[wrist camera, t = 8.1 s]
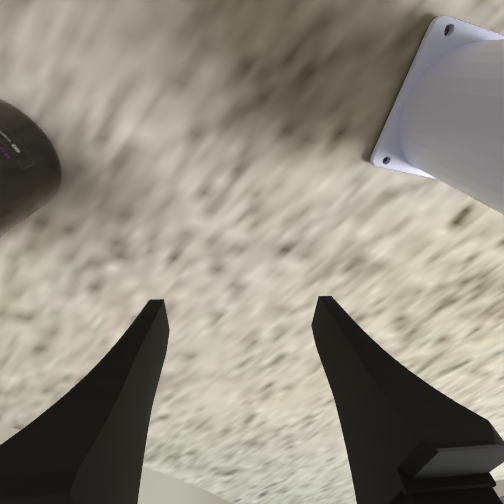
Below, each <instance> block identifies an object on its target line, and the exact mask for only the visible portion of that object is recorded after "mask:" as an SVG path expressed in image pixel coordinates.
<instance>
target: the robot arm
mask: <svg viewBox="0 0 504 504" xmlns="http://www.w3.org/2000/svg"><path fill="white" fill-rule="evenodd" d="M447 25H448V26H449V32H448V34H447V35H446V36H445V35H444V30H445V28H446V26H447ZM385 157H388V159H387V161H386V162H384V163H383V159H384V158H385ZM370 161H371V163H372V164H373V165H375V166H377V167H382V168H386V169H391V170H396V171H400V172H405V173H410V174H414V175H419V176H423V177H428V178H433V179H437V180H440V181H442V182H444V183H446V184H447V185H449V186H451V187H453V188H455V189H457V190H459V191H461V192H462V193H464V194H466V195H468V196H470V197H472V198H474V199H476V200H477V201H479V202H481V203H483V204H485V205H487V206H489V207H491V208H492V209H494V210H496V211H498V212H500V213H502V214H504V35H501V34H498V33H495V32H493V31H490V30H487V29H484V28H481V27H478V26H475V25H472V24H470V23H467V22H464V21H461V20H458V19H455V18H452V17H449V16H447V15H442V16H438V17H436V18H435V19H434V20H433V21H432V22H431V23H430V25H429V27H428V29H427V32H426V34H425V36H424V38H423V41H422V43H421V45H420V47H419V49H418V52H417V54H416V56H415V58H414V61H413V63H412V65H411V67H410V70H409V72H408V74H407V76H406V79H405V81H404V83H403V85H402V88H401V90H400V92H399V94H398V97H397V99H396V101H395V103H394V106H393V108H392V110H391V112H390V115H389V117H388V119H387V121H386V124H385V126H384V128H383V130H382V133H381V135H380V137H379V139H378V142H377V144H376V146H375V148H374V151H373V153H372V155H371V158H370ZM312 330H313V335H314V340H315V344H316V347H317V350H318V353H319V356H320V359H321V362H322V365H323V368H324V370H325V373H326V376H327V379H328V382H329V384H330V387H331V390H332V393H333V396H334V400H335V403H336V407H337V411H338V415H339V419H340V423H341V428H342V432H343V436H344V441H345V445H346V450H347V454H348V459H349V464H350V469H351V474H352V479H353V484H354V490H355V495H356V501H357V504H504V496H503V497H500V498H499V497H498V495H497V494H496V492H495V491H494V489H493V487H495V486H496V482H495V481H494V479H493V478H492V476H491V474H490V473H489V472H490V471H491V470H493V469H494V468H496V467H497V466H499V465H500V464H501V463H503V462H504V441H503V439H502V438H501V437H500V435H499V434H498V433H497V431H496V430H495V429H494V427H493V426H492V425H491V423H490V422H489V421H488V420H486V419H485V418H483V417H481V416H479V415H478V414H476V413H474V412H472V411H471V410H469V409H467V408H465V407H464V406H462V405H460V404H458V403H457V402H455V401H453V400H452V399H450V398H449V397H447V396H446V395H444V394H442V393H441V392H439V391H438V390H436V389H435V388H433V387H432V386H430V385H429V384H427V383H426V382H424V381H423V380H422V379H420V378H419V377H418V376H416V375H415V374H413V373H412V372H411V371H409V370H408V369H407V368H405V367H404V366H403V365H401V364H400V363H399V362H398V361H397V360H395V359H394V358H393V357H392V356H390V355H389V354H388V353H387V352H386V351H385V350H383V349H382V348H381V347H380V346H379V345H378V344H377V343H376V342H375V341H374V340H373V339H371V338H370V337H369V336H368V335H367V334H366V333H365V332H364V331H363V330H362V329H361V328H360V327H359V326H358V324H357V323H356V322H355V321H354V320H353V319H352V318H351V317H350V316H349V315H348V314H347V313H346V312H345V311H344V309H343V308H342V307H341V306H340V305H339V304H338V303H337V302H336V301H335V300H334V299H333V297H332V296H319V297H318V301H317V305H316V309H315V313H314V317H313V321H312ZM168 337H169V324H168V319H167V314H166V308H165V303H164V299H162V300H149V301H148V302H147V304H146V305H145V307H144V308H143V309H142V311H141V312H140V314H139V315H138V316H137V318H136V319H135V320H134V322H133V323H132V324H131V326H130V327H129V328H128V329H127V331H126V332H125V333H124V334H123V336H122V337H121V338H120V339H119V341H118V342H117V343H116V344H115V345H114V346H113V347H112V349H111V350H110V351H109V352H108V353H107V354H106V355H105V357H104V358H103V359H102V360H101V361H100V362H99V363H98V364H97V365H96V366H95V367H94V368H93V369H92V370H91V371H90V372H89V373H88V374H87V375H86V376H85V377H84V378H83V379H82V380H81V381H80V382H79V383H78V384H76V385H75V386H74V387H73V388H72V389H71V390H70V391H69V392H68V393H67V394H65V395H64V396H63V397H62V398H61V399H60V400H58V401H57V402H56V403H55V404H54V405H52V406H51V407H50V408H49V409H47V410H46V411H45V412H44V413H42V414H41V415H40V416H39V417H38V418H36V419H35V420H34V421H33V422H31V423H30V424H29V425H27V426H26V427H25V428H23V429H22V430H21V431H19V432H18V433H17V434H15V435H14V436H12V437H11V438H9V439H8V440H7V441H5V442H4V443H3V444H1V445H0V504H137V503H138V494H139V487H140V479H141V472H142V465H143V458H144V452H145V445H146V439H147V433H148V427H149V421H150V415H151V409H152V405H153V401H154V397H155V393H156V389H157V385H158V382H159V378H160V374H161V370H162V367H163V363H164V359H165V355H166V351H167V344H168Z"/></svg>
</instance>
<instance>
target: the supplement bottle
mask: <svg viewBox="0 0 504 504" xmlns="http://www.w3.org/2000/svg"><path fill="white" fill-rule="evenodd" d="M60 181H61V167H60V162H59V159H58V156H57V153H56V151H55V149H54V147H53V145H52V143H51V142H50V140H49V139H48V137H47V136H46V135H45V133H44V132H43V131H42V130H41V129H40V128H39V126H38V125H37V124H36V123H34V122H33V121H32V120H31V119H30V118H29V117H28V116H26V115H25V114H24V113H22V112H21V111H19V110H18V109H16V108H15V107H13V106H11V105H9V104H8V103H5V102H3V101H1V100H0V236H2V235H3V234H4V233H6V232H7V231H9V230H10V229H11V228H13V227H14V226H16V225H17V224H18V223H20V222H21V221H23V220H24V219H25V218H27V217H28V216H30V215H31V214H32V213H34V212H35V211H36V210H38V209H39V208H40V207H42V206H43V205H44V204H46V203H47V202H48V201H49V200H51V199H52V197H53V196H54V195H55V194H56V192H57V190H58V188H59V185H60Z"/></svg>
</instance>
